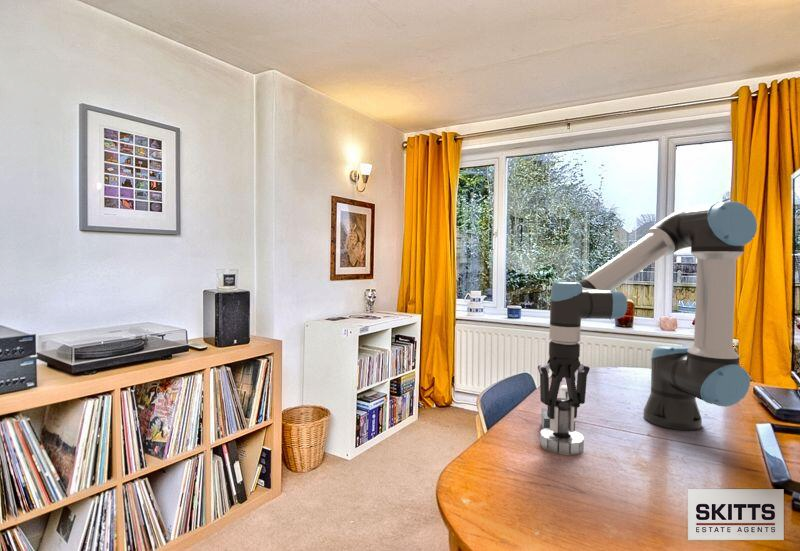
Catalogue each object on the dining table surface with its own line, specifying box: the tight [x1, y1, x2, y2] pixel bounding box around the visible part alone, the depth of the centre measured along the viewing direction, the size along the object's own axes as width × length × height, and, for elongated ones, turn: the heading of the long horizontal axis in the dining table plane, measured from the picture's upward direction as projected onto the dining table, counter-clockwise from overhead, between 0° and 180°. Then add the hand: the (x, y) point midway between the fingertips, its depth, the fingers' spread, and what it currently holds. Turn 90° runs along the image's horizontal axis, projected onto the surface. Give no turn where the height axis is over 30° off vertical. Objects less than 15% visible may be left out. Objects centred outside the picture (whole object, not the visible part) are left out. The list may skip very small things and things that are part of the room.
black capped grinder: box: [554, 397, 570, 438], centre depth 116 cm, size 4×4×10 cm
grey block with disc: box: [539, 406, 585, 456], centre depth 121 cm, size 10×22×5 cm, turn 166°
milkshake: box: [559, 384, 577, 400], centre depth 140 cm, size 4×5×10 cm
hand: (561, 430), depth 116 cm, fingers closed on black capped grinder, 4 cm apart
